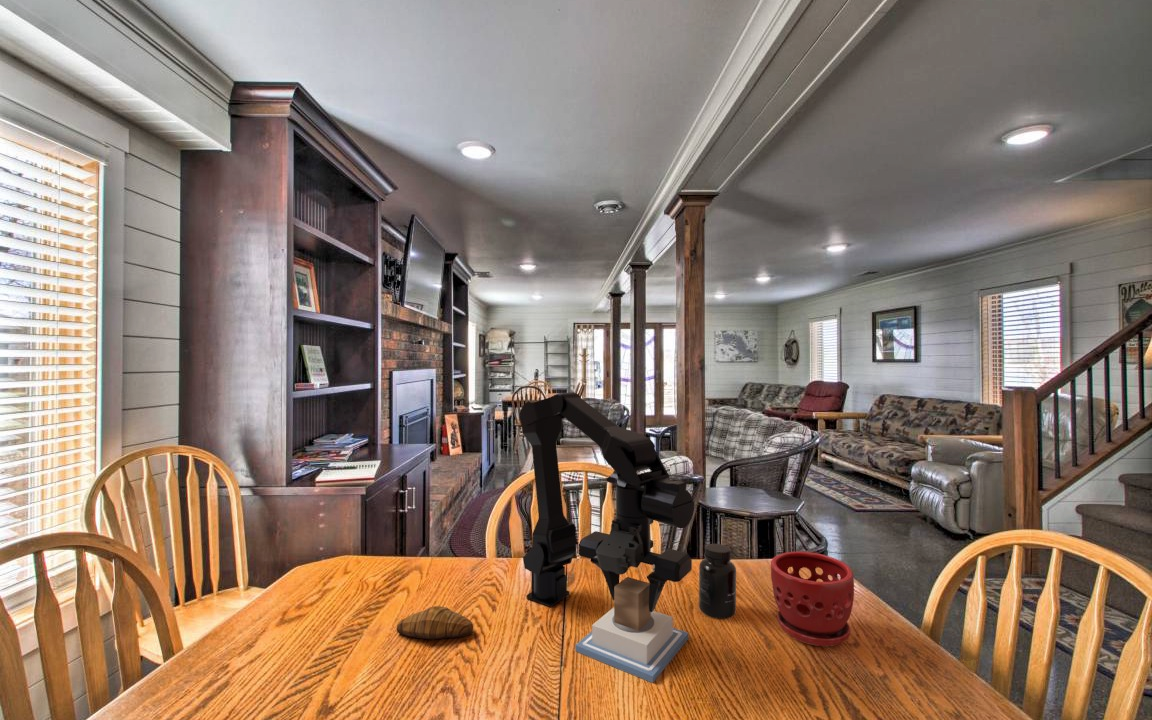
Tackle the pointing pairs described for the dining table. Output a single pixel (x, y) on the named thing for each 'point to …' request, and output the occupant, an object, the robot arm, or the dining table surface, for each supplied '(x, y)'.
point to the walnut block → (631, 603)
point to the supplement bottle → (717, 582)
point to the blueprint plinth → (630, 667)
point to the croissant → (435, 624)
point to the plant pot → (813, 597)
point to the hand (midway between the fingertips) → (632, 605)
